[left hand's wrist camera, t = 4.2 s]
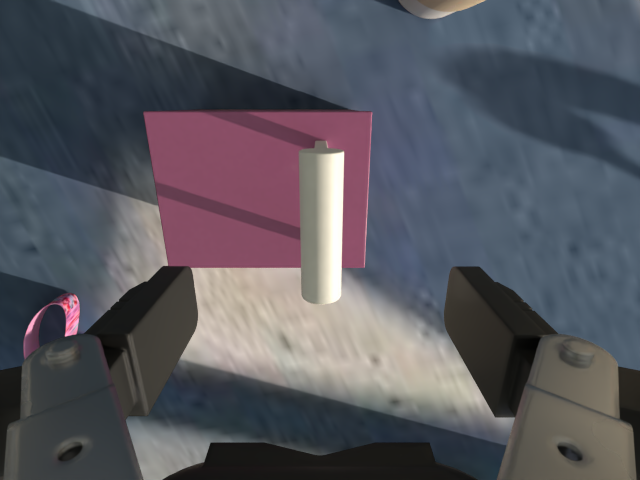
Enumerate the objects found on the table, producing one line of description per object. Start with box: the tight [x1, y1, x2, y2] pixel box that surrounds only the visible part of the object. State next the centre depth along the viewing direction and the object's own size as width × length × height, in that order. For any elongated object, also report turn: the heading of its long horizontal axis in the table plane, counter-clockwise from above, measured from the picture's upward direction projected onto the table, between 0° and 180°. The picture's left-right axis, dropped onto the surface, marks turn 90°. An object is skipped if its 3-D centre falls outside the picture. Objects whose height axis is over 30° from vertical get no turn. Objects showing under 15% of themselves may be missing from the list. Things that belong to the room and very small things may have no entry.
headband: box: [23, 293, 80, 359], centre depth 37 cm, size 11×4×2 cm, turn 158°
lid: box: [143, 111, 372, 304], centre depth 20 cm, size 14×10×9 cm
